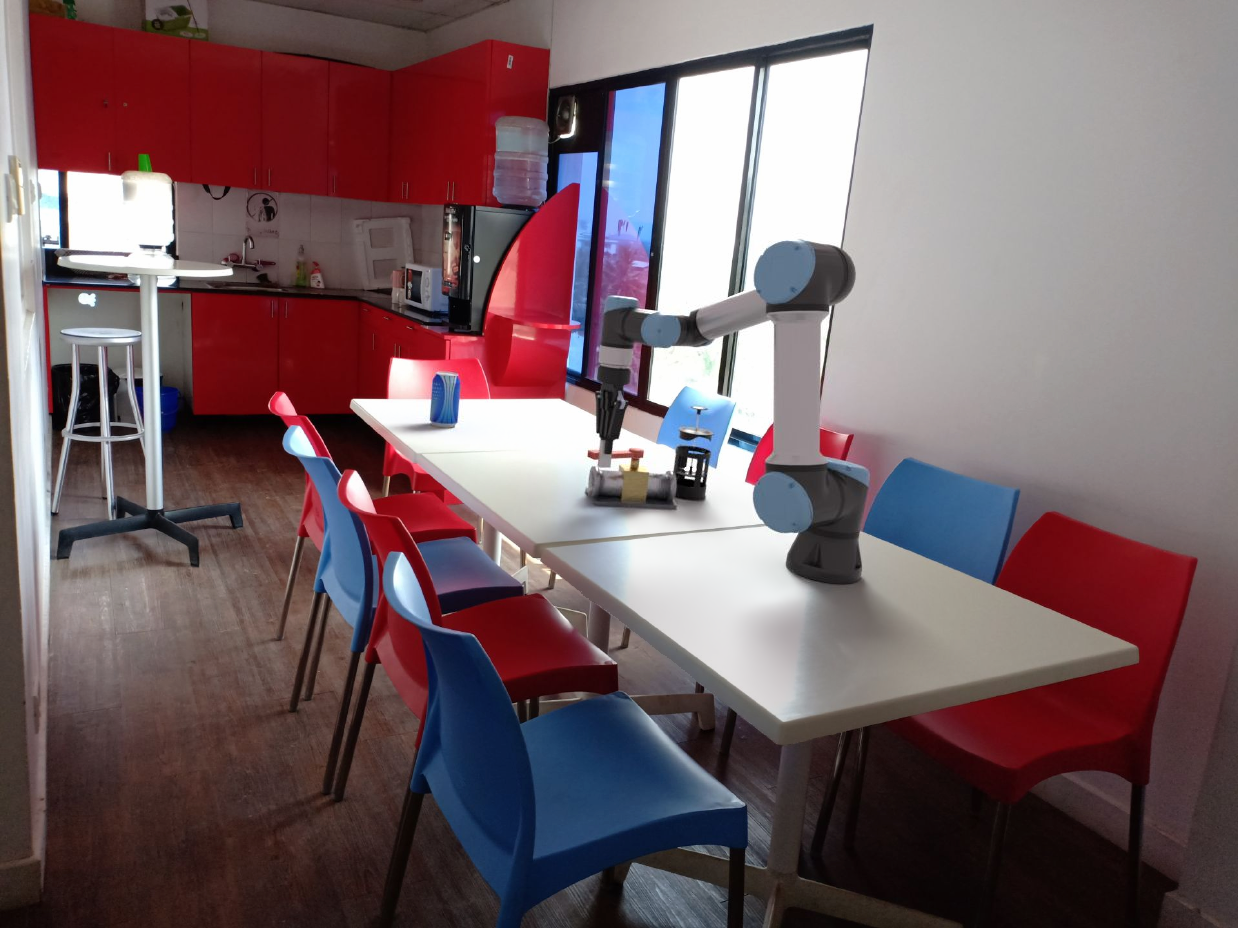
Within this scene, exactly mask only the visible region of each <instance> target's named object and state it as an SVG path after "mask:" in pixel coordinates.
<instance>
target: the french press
mask: <svg viewBox="0 0 1238 928" xmlns="http://www.w3.org/2000/svg"><path fill="white" fill-rule="evenodd" d="M690 408H691V409H693V410H696V415H697V418H696V424H695V427H693V426H680V427H678V431H679V435H678V438H679V439H681V440H683V441H685V442H686V441H687V442H690V441H693V440H694V441H693V445H687V444H679V445H677V446H676V447H675V453H674V454H675V456H674V465H673V470H672V471H674V472H675V475H676V481H677V488H676V495H675V499H680V500H684V501H694V502H698V501H704V500H706V498H707V495H706V492H707V491H706V490H707V479H708V473H709V465H710V459H711V457H712V450H710V449H707V448H705V447H701V446H696V441H697V438H703V439H707V440H709V442H712V436H715V435H714V434H715V433H714V432H713V431H712V430H709V429H705V428H701V427H699V418H700V415H701V412H702V411H708V410H709V409H708V408H707V407H705V406H700V405H693V406H690ZM688 459H691V462H690V466H689V467H688V466H687V465H688ZM694 459H695V460H696V466H695V467H693V461H694ZM687 477H688V478H687ZM693 478H694V479H693Z"/></svg>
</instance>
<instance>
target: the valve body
mask: <svg viewBox="0 0 1238 928" xmlns="http://www.w3.org/2000/svg"><path fill="white" fill-rule="evenodd" d="M640 459H641V458H630V464H619V465H618V470H603V469H600V467H598V465H597V466H595V465H592V466H591V467H590V469H589V474H588V483H587V485H588V486H587V487H585V490H584V492H585V491H586V492H585V493H586V495H587V494H588V495H587V496H588V498H589V499H590V501H591V502H592V504H593V505H594V506H595V507H596V506H597V507H598V506H599V507H615V508H617V507H618V508H634V509H637V508H638V509H653V510H654V509H656V510H672V511H673V510H677V509H678V505H677V504H676V503H675V502H674V500H675V499H676V497H675V495H676V488H677V481H676V475H675V472H674V471H673V470H667V471H666V472H665V473H652V472H649V470H648V469H647V468H646V467H645V466H644V465H640Z"/></svg>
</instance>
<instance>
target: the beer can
mask: <svg viewBox="0 0 1238 928" xmlns="http://www.w3.org/2000/svg"><path fill="white" fill-rule="evenodd" d="M431 383H432V385H431V397H430V409H429V410H430V411H429V412H430V413H429V421H430V422H431V425H432V426H433V427H436V428H444V429H449V428H451V429H452V428H454V427H456V425H457V424H458V423H459V422H458V420H459V412H460V411H459V410H460V409H459V408H460V395H461V386H462V385H461V380H460V377H459V374H458V373H455V372H451V371H437V372H435V375H434V377H433V379H432V382H431Z"/></svg>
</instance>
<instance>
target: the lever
mask: <svg viewBox="0 0 1238 928" xmlns="http://www.w3.org/2000/svg"><path fill="white" fill-rule="evenodd" d="M644 453H645V450H644V449H642V448H638V447H637V448H636V447H631V448H628V450H612V458H611V460H612V459H613V460H614V459H615V460H616V459H631V458H639V459H643V458H644ZM586 457H587V458H590V459H592V460H593V461H595V460H597V461H598V458H599V449H588V450H587V456H586Z"/></svg>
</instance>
